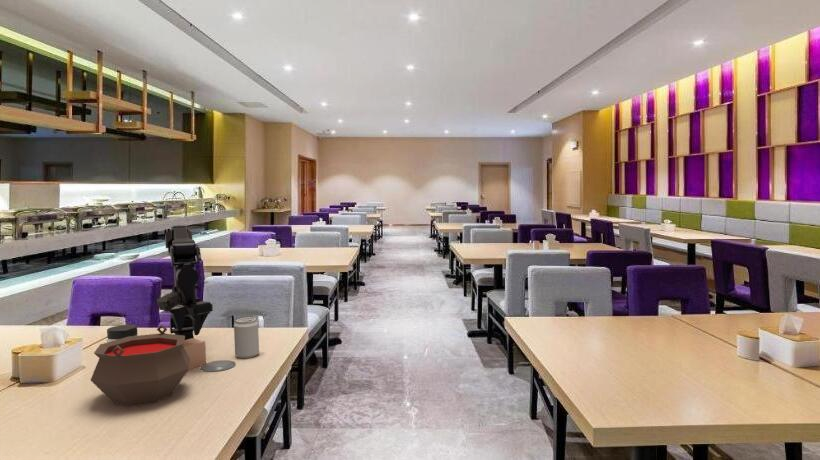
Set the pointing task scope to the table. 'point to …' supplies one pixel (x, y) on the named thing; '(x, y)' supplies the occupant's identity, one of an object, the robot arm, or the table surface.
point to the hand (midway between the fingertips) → (188, 332)
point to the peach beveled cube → (195, 352)
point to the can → (246, 337)
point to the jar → (121, 332)
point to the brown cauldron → (141, 367)
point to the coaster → (217, 366)
